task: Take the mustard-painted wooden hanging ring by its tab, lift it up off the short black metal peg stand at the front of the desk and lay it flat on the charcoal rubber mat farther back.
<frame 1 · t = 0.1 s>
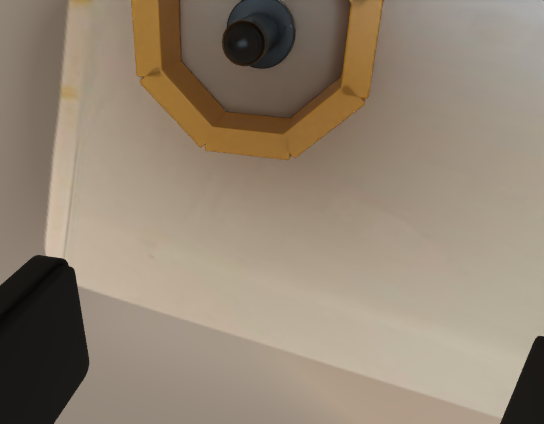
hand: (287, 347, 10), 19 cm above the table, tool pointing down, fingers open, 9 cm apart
ring: (261, 31, 25), on the table
peg stand: (261, 31, 25), on the table
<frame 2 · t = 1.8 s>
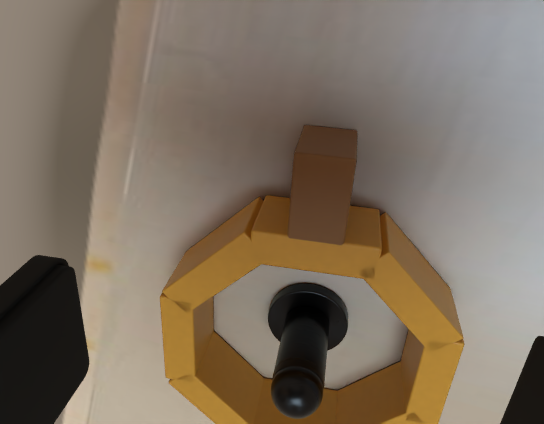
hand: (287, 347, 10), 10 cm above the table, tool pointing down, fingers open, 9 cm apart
ring: (308, 314, 22), on the table
peg stand: (308, 314, 22), on the table
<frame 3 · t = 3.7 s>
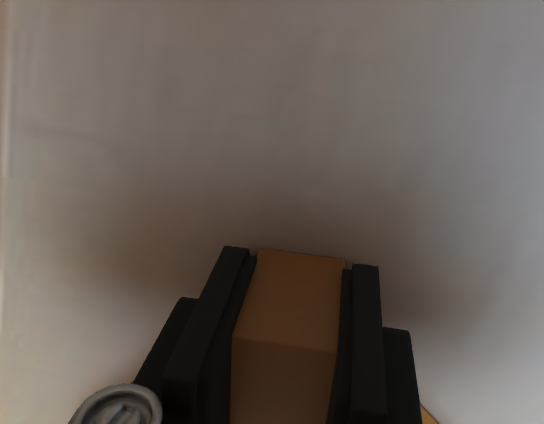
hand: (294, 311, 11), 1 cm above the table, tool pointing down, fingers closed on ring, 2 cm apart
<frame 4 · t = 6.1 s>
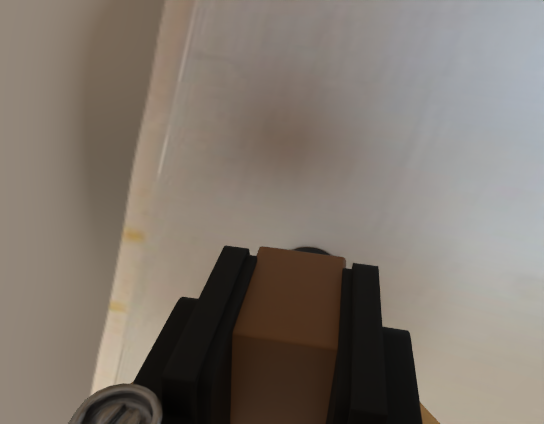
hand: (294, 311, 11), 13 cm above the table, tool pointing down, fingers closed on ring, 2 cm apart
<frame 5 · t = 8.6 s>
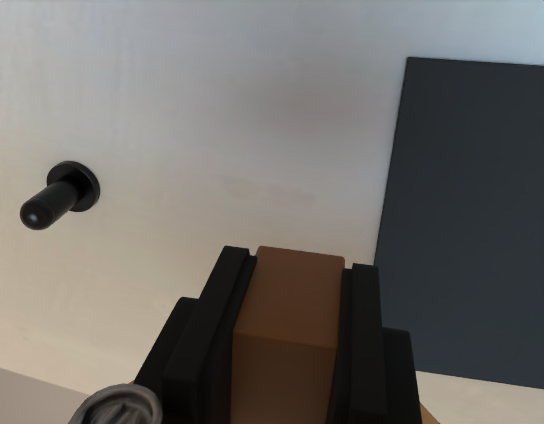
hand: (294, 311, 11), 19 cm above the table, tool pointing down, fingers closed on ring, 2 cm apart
mat: (507, 246, 30), on the table
peg stand: (75, 185, 33), on the table
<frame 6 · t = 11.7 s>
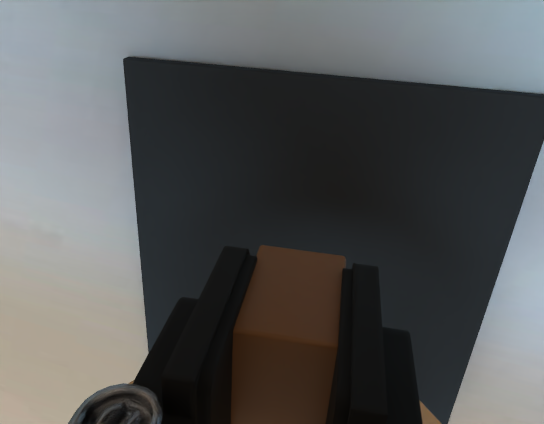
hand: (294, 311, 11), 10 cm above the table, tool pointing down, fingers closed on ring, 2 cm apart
mat: (304, 305, 23), on the table
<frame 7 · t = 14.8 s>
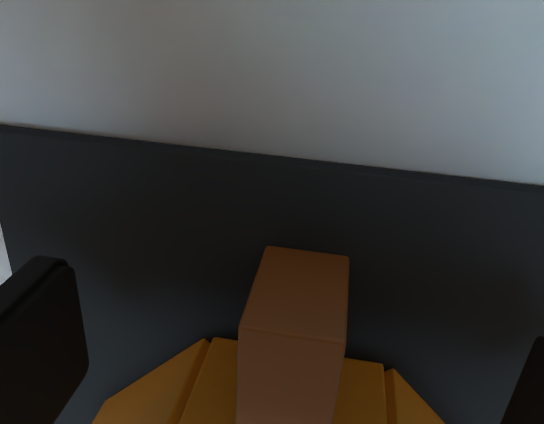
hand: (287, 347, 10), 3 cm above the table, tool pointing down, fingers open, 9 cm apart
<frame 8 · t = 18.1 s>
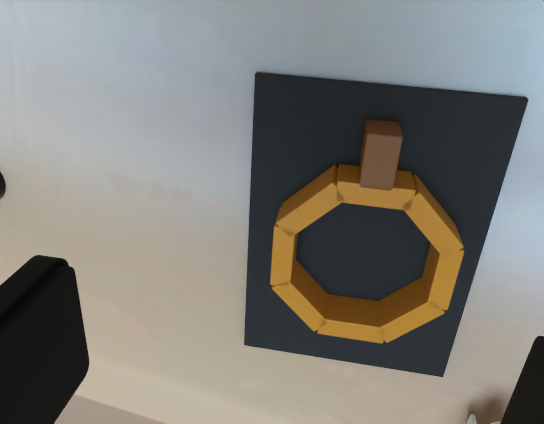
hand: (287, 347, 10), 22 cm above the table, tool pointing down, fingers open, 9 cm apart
mat: (360, 240, 34), on the table
ring: (361, 245, 33), resting on mat
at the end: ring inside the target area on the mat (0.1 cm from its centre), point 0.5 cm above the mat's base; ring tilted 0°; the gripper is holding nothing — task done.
